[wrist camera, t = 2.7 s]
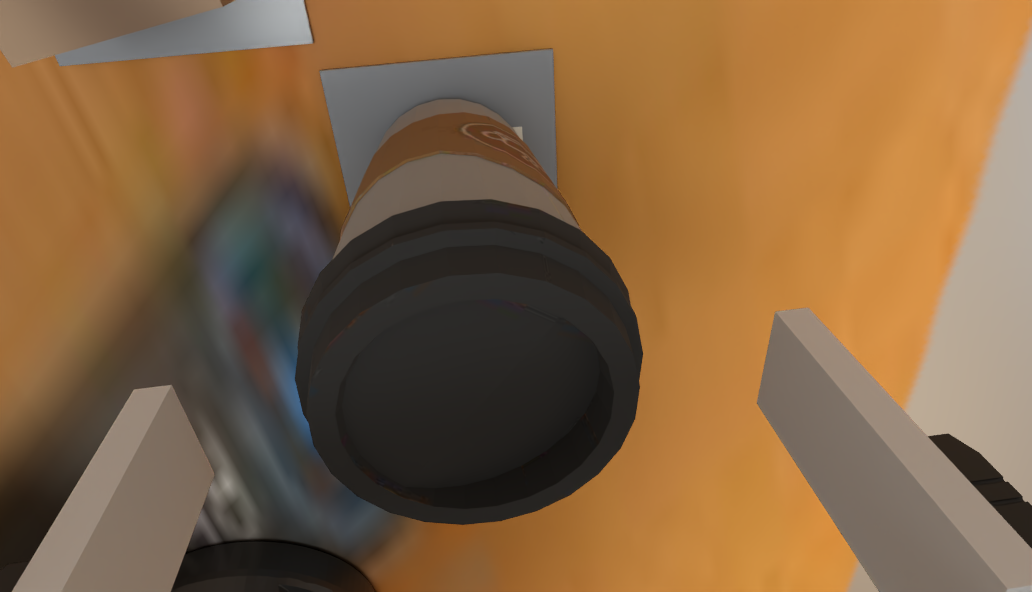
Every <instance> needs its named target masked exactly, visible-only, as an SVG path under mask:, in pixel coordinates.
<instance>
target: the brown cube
mask: <svg viewBox="0 0 1032 592" xmlns="http://www.w3.org/2000/svg"><path fill="white" fill-rule="evenodd" d="M233 1H235V0H0V50H1V51H2V53H3V54H4V56H5V57H6V59H7V60H8V62H9V63H10V65H11V66H12V67H16V66H19V65H23V64H26V63H30V62H33V61H37V60H40V59H44V58H47V57H51V56H54V55H57V54H61V53H64V52H68V51H71V50H75V49H78V48H82V47H85V46H89V45H92V44H95V43H99V42H102V41H106V40H109V39H113V38H116V37H120V36H123V35H127V34H130V33H134V32H137V31H140V30H144V29H147V28H151V27H154V26H158V25H161V24H165V23H168V22H172V21H175V20H178V19H182V18H185V17H189V16H192V15H196V14H199V13H203V12H206V11H210V10H213V9H216V8H220V7H223V6H225V5H227V4H229V3H231V2H233Z"/></svg>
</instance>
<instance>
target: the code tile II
mask: <svg viewBox="0 0 1032 592" xmlns="http://www.w3.org/2000/svg"><path fill="white" fill-rule="evenodd" d="M311 43H314V41H313V36H312V32H311V27H310V23H309V19H308V14H307V10H306V5H305V1H304V0H235V1H233V2H231V3H229V4H227V5H225V6H223V7H220V8H216V9H213V10H210V11H206V12H203V13H199V14H196V15H192V16H189V17H185V18H182V19H178V20H175V21H172V22H168V23H165V24H161V25H158V26H154V27H151V28H147V29H144V30H140V31H137V32H134V33H130V34H127V35H123V36H120V37H116V38H113V39H109V40H106V41H102V42H99V43H95V44H92V45H89V46H85V47H82V48H78V49H75V50H71V51H68V52H64V53H61V54H57V55H55V57H56V59H57V61H58V63H59V66H67V65H78V64H89V63H101V62H112V61H123V60H134V59H145V58H156V57H167V56H178V55H189V54H200V53H211V52H222V51H233V50H244V49H255V48H266V47H277V46H289V45H300V44H311Z"/></svg>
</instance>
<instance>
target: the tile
mask: <svg viewBox="0 0 1032 592" xmlns="http://www.w3.org/2000/svg"><path fill="white" fill-rule="evenodd" d="M319 72H320V76H321V81H322V85H323V89H324V94H325V98H326V103H327V107H328V111H329V116H330V120H331V125H332V129H333V133H334V138H335V142H336V147H337V151H338V156H339V160H340V164H341V169H342V173H343V178H344V182H345V186H346V191H347V195H348V200H349V204H350V207H351V205H352V202H353V200H354V198H355V195H356V193H357V191H358V188H359V186H360V184H361V181H362V179H363V177H364V174H365V172H366V170H367V168H368V166H369V164H370V162H371V160H372V158H373V156H374V154H375V153H376V151H377V149H378V147H379V145H380V143H381V141H382V139H383V137H384V134H385V132H386V131H387V130H388V129H389V128H390V127H391V126H392V125H393V123H394V122H395V121H396V120H397V119H398V118H399V117H400V116H402V115H403V114H405V113H406V112H408V111H410V110H411V109H413V108H414V107H416V106H418V105H421V104H424V103H428V102H431V101H434V100H438V99H462V100H466V101H470V102H474V103H478V104H481V105H483V106H484V107H486V108H488V109H490V110H491V111H493V112H495V113H497V114H499V115H500V116H501V117H502V118H503V119H504V120H505V121H506V122H507V123H508V124H509V125H510V126H511V127H512V128H513V129H514V130H515V132H516V133H517V135H518V136H519V138H520V139H521V140H522V141H523V142H524V143H525V144H526V145H527V146H528V147H529V149H530V150H531V152H532V153H533V155H534V156H535V158H536V159H537V160H538V162H539V163H540V165H541V166H542V168H543V169H544V171H545V172H546V174H547V175H548V176H549V178H550V179H551V181H552V182H553V184H554V185H555V187H556V188H557V164H556V130H555V96H554V62H553V49H552V48H550V49H540V50H529V51H518V52H508V53H497V54H486V55H476V56H465V57H454V58H444V59H433V60H422V61H412V62H401V63H390V64H380V65H369V66H358V67H348V68H337V69H326V70H320V71H319Z"/></svg>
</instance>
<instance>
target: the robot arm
mask: <svg viewBox="0 0 1032 592" xmlns="http://www.w3.org/2000/svg"><path fill="white" fill-rule="evenodd" d="M757 404H758V406H759V407H760V409H761V411H762V412H763V414H764V415H765V417H766V418H767V420H768V421H769V423H770V424H771V426H772V427H773V429H774V431H775V432H776V434H777V435H778V437H779V438H780V440H781V441H782V443H783V444H784V446H785V448H786V449H787V451H788V452H789V454H790V455H791V457H792V458H793V460H794V461H795V463H796V464H797V466H798V468H799V469H800V471H801V472H802V474H803V475H804V477H805V478H806V480H807V481H808V483H809V485H810V486H811V488H812V489H813V491H814V492H815V494H816V495H817V497H818V498H819V500H820V501H821V503H822V505H823V506H824V508H825V509H826V511H827V512H828V514H829V515H830V517H831V518H832V520H833V522H834V523H835V525H836V526H837V528H838V529H839V531H840V532H841V534H842V535H843V537H844V538H845V540H846V542H847V543H848V545H849V546H850V548H851V549H852V551H853V552H854V554H855V555H856V557H857V559H858V560H859V562H860V563H861V565H862V566H863V568H864V569H865V571H866V572H867V574H868V575H869V577H870V579H871V580H872V582H873V583H874V585H875V586H876V588H877V589H878V591H879V592H1032V505H1030V503H1029V502H1024V501H1023V499H1022V496H1021V494H1020V493H1019V492H1018V491H1017V490H1016V489H1015V488H1014V487H1013V486H1012V485H1010V483H1009V482H1005V481H1004V480H1003V476H1002V475H1001V474H1000V473H999V472H998V471H997V470H996V469H995V468H994V467H993V466H992V465H991V464H990V463H989V462H988V461H987V460H986V459H985V458H984V457H983V456H982V455H981V454H980V453H979V452H977V451H975V450H974V449H972V448H970V447H969V446H967V445H966V444H964V443H962V442H961V441H959V440H958V439H956V438H954V437H953V436H951V435H950V434H942V435H934V436H927V435H926V434H925V433H924V432H923V431H922V430H921V429H920V428H919V427H918V426H917V424H916V423H915V422H914V421H913V420H912V419H911V418H910V417H909V416H908V415H907V414H906V413H905V411H904V410H903V409H902V408H901V407H900V406H899V405H898V404H897V403H896V402H895V401H894V400H893V399H892V397H891V396H890V395H889V394H888V393H887V392H886V391H885V390H884V389H883V388H882V387H881V386H880V384H879V383H878V382H877V381H876V380H875V379H874V378H873V377H872V376H871V375H870V374H869V373H868V372H867V370H866V369H865V368H864V367H863V366H862V365H861V364H860V363H859V362H858V361H857V360H856V359H855V358H854V356H853V355H852V354H851V353H850V352H849V351H848V350H847V349H846V348H845V347H844V346H843V345H842V343H841V342H840V341H839V340H838V339H837V338H836V337H835V336H834V335H833V334H832V333H831V332H830V331H829V329H828V328H827V327H826V326H825V325H824V324H823V323H822V322H821V321H820V320H819V319H818V318H817V317H816V315H815V314H814V313H813V312H812V311H811V310H810V309H809V308H801V309H793V310H785V311H776V312H775V315H774V320H773V325H772V330H771V335H770V340H769V345H768V350H767V355H766V360H765V365H764V370H763V375H762V380H761V385H760V390H759V395H758V400H757ZM214 475H215V474H214V472H213V470H212V467H211V465H210V463H209V461H208V459H207V457H206V455H205V453H204V451H203V449H202V447H201V445H200V443H199V441H198V439H197V436H196V434H195V432H194V430H193V428H192V426H191V424H190V422H189V420H188V418H187V416H186V414H185V412H184V410H183V408H182V405H181V403H180V401H179V399H178V397H177V395H176V393H175V391H174V389H173V387H172V385H167V386H159V387H151V388H143V389H134V390H133V392H132V394H131V395H130V397H129V399H128V400H127V402H126V404H125V405H124V407H123V409H122V410H121V412H120V413H119V415H118V417H117V418H116V420H115V422H114V423H113V425H112V427H111V428H110V430H109V432H108V433H107V435H106V437H105V438H104V440H103V442H102V443H101V445H100V447H99V448H98V450H97V451H96V453H95V455H94V456H93V458H92V460H91V461H90V463H89V465H88V466H87V468H86V470H85V471H84V473H83V475H82V476H81V478H80V480H79V481H78V483H77V485H76V486H75V488H74V490H73V491H72V493H71V494H70V496H69V498H68V499H67V501H66V503H65V504H64V506H63V508H62V509H61V511H60V513H59V514H58V516H57V518H56V519H55V521H54V523H53V524H52V526H51V528H50V529H49V531H48V533H47V534H46V536H45V537H44V539H43V541H42V542H41V544H40V546H39V547H38V549H37V551H36V552H35V554H34V556H33V557H32V559H31V561H27V562H20V563H13V564H7V565H6V566H5V567H4V568H3V569H2V570H1V571H0V592H375V591H374V589H373V587H372V586H371V584H370V583H369V582H368V581H367V579H366V578H365V577H364V576H363V575H362V574H361V573H359V572H358V571H357V570H356V569H354V568H353V567H352V566H350V565H348V564H347V563H345V562H343V561H342V560H340V559H338V558H336V557H333V556H331V555H329V554H326V553H323V552H320V551H317V550H314V549H310V548H307V547H302V546H297V545H292V544H285V543H276V542H238V543H229V544H222V545H216V546H212V547H207V548H203V549H200V550H197V551H194V552H191V553H188V554H185V552H186V550H187V547H188V544H189V542H190V539H191V536H192V534H193V531H194V528H195V526H196V523H197V520H198V518H199V515H200V512H201V510H202V507H203V504H204V502H205V499H206V496H207V494H208V491H209V488H210V486H211V483H212V480H213V478H214Z"/></svg>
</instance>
